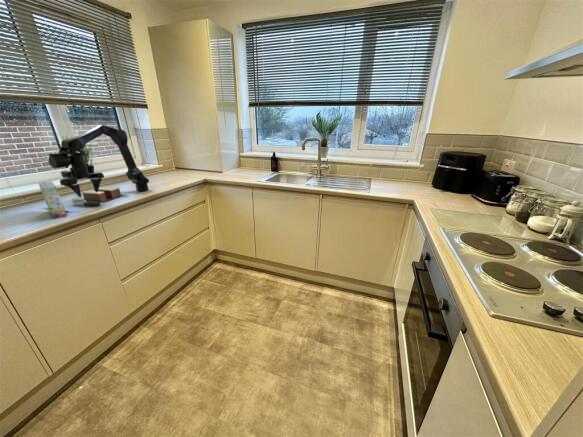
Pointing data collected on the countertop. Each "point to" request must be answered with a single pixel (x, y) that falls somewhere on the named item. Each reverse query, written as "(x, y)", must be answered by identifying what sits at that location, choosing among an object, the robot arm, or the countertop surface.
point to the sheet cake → (110, 191)
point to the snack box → (52, 199)
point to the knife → (86, 203)
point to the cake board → (109, 199)
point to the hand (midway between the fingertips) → (88, 194)
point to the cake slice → (94, 196)
